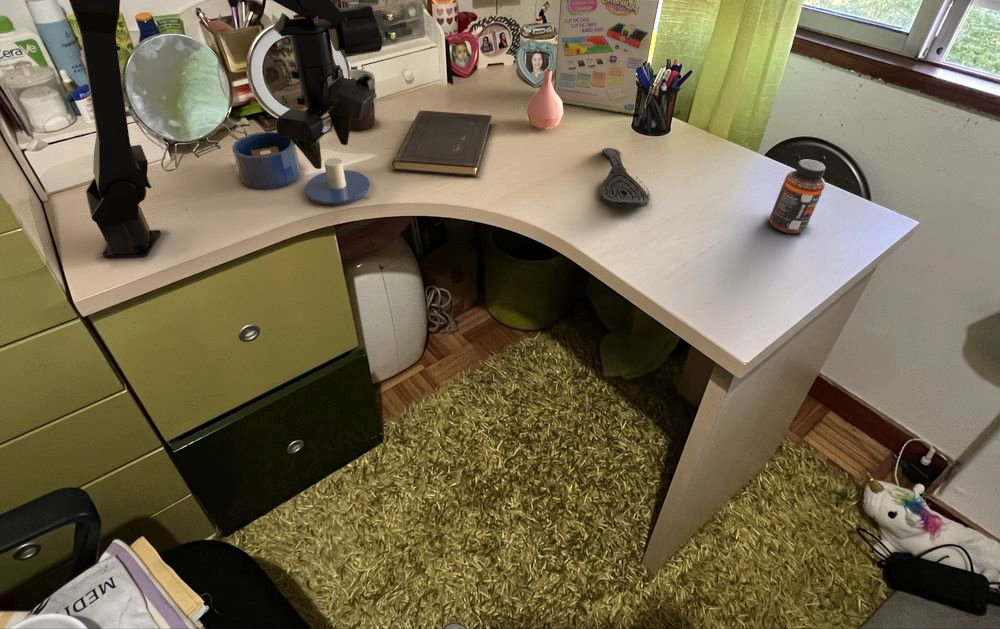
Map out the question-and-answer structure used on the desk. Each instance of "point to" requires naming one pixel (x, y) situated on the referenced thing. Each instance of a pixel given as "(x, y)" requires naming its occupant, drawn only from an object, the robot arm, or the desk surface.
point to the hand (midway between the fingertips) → (331, 156)
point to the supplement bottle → (798, 197)
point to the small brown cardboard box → (265, 152)
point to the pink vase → (545, 105)
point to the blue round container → (266, 161)
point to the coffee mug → (369, 117)
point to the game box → (604, 51)
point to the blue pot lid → (337, 184)
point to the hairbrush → (621, 184)
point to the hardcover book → (444, 144)
